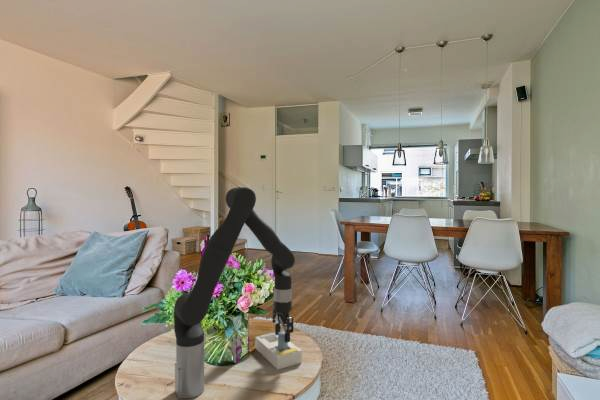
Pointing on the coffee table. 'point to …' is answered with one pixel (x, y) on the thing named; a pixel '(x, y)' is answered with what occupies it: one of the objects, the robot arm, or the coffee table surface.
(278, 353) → the socket board
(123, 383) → the coffee table surface
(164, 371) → the coffee table surface
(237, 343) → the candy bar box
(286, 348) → the blue-grey upright block
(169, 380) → the coffee table surface
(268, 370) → the coffee table surface
